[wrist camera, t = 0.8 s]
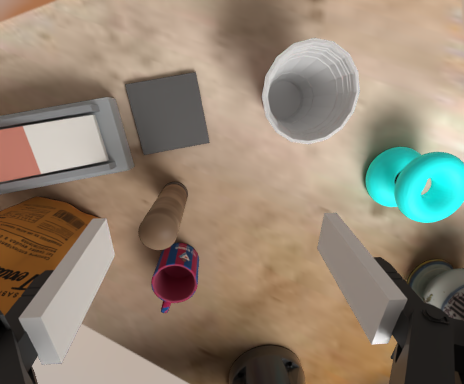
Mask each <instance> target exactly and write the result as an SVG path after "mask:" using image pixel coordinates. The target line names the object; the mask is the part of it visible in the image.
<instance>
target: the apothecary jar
mask: <svg viewBox="0 0 464 384" xmlns="http://www.w3.org/2000/svg"><path fill="white" fill-rule="evenodd" d="M407 284H408V285H409V286H410V287H411V288H412V289H413V290H414V291H415V293H416V294H417V295H418V296H419V297H420V298H421V299H422V301H423V302H424V303H428V304H431V305H434V306H436V307H438V308H440V309H441V310H442V311H444V312H445V313H446V314H447V315H448V316H449V317H450V318H454V319H458V320H463V321H464V268H460V269H453V266H452V265H451V264H450V263H449V262H447V261H445V260H440V259H434V260H429V261H426V262H424V263H422V264H420V265H419V266H418V267H417V268H416V269H415V270H414V271H413V272H412V273H411V275H410V277H409V279H408V282H407Z"/></svg>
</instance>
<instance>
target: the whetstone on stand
mask: <svg viewBox="0 0 464 384" xmlns="http://www.w3.org/2000/svg"><path fill="white" fill-rule="evenodd" d="M88 115H95V116H96V120H97V123H98V126H99V129H100V133H101V136H102V139H103V142H104V146H105V149H106V152H107V155H108V159H109V160H107V161H103V162H98V163H93V164H88V165H83V166H78V167H73V168H68V169H63V170H58V171H53V172H48V173H43V174H38V175H33V176H28V177H23V178H18V179H13V180H8V181H3V182H0V194H5V193H10V192H16V191H21V190H26V189H32V188H37V187H42V186H48V185H53V184H58V183H64V182H69V181H74V180H79V179H85V178H90V177H95V176H101V175H106V174H111V173H117V172H122V171H127V170H130V169H132V168H133V167H135V166H134V163H133V159H132V156H131V152H130V149H129V145H128V141H127V138H126V134H125V131H124V127H123V124H122V120H121V117H120V113H119V110H118V106H117V103H116V99H115V98H110V97H104V98H99V99H93V100H87V101H82V102H76V103H70V104H65V105H59V106H53V107H48V108H42V109H37V110H31V111H25V112H20V113H14V114H8V115H3V116H0V130H2V129H9V128H15V127H21V126H27V125H33V124H39V123H45V122H51V121H57V120H63V119H70V118H76V117H82V116H88Z"/></svg>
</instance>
